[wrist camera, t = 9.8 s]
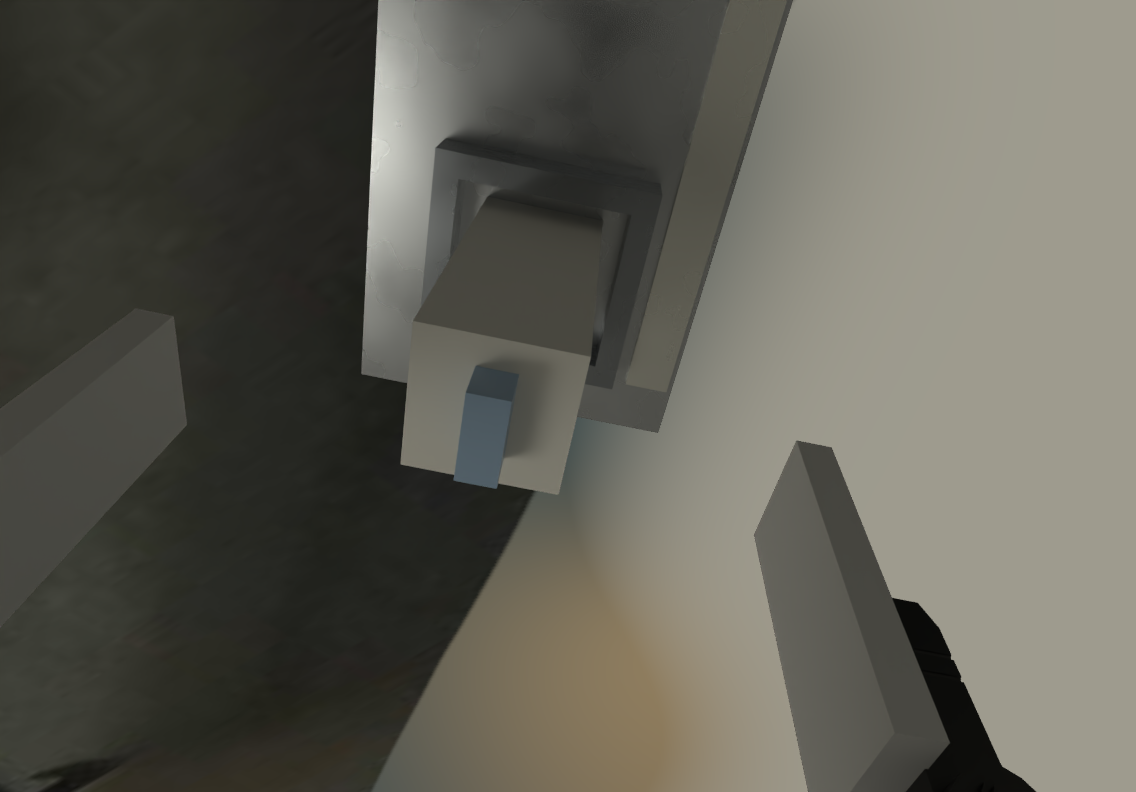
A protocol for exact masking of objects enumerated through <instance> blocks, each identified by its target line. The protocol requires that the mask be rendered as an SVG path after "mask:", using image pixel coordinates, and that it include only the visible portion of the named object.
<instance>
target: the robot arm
mask: <svg viewBox="0 0 1136 792" xmlns="http://www.w3.org/2000/svg"><path fill="white" fill-rule="evenodd" d="M186 425H187V421H186V413H185V405H184V397H183V389H182V381H181V373H180V365H179V356H178V348H177V340H176V332H175V324H174V316H171V315H166V314H161V313H156V312H151V311H146V310H141V309H134V310H133V311H132V312H130V313H129V314H128V315H126V316H125V317H124V318H122V319H121V320H120V321H118V322H117V323H116V324H114V325H113V326H111V327H110V328H109V329H107V330H106V331H105V332H103V333H102V334H101V335H99V336H98V337H97V338H95V339H94V340H93V341H91V342H90V343H88V344H87V345H86V346H84V347H83V348H82V349H80V350H79V351H78V352H76V353H75V354H74V355H72V356H71V357H69V358H68V359H67V360H65V361H64V362H63V363H61V364H60V365H59V366H57V367H56V368H55V369H53V370H52V371H51V372H49V373H48V374H46V375H45V376H44V377H42V378H41V379H40V380H38V381H37V382H36V383H34V384H33V385H32V386H30V387H29V388H28V389H26V390H25V391H23V392H22V393H21V394H19V395H18V396H17V397H15V398H14V399H13V400H11V401H10V402H9V403H7V404H6V405H4V406H3V407H2V408H0V627H1V626H2V625H3V624H4V623H5V622H6V620H7V619H8V618H9V617H10V616H11V615H12V614H13V613H14V612H15V611H16V610H17V609H18V607H19V606H20V605H21V604H22V603H23V602H24V601H25V600H26V599H27V598H28V597H29V596H30V594H31V593H32V592H33V591H34V590H35V589H36V588H37V587H38V586H39V585H40V584H41V582H42V581H43V580H44V579H45V578H46V577H47V576H48V575H49V574H50V573H51V572H52V571H53V569H54V568H55V567H56V566H57V565H58V564H59V563H60V562H61V561H62V560H63V559H64V558H65V556H66V555H67V554H68V553H69V552H70V551H71V550H72V549H73V548H74V547H75V546H76V544H77V543H78V542H79V541H80V540H81V539H82V538H83V537H84V536H85V535H86V534H87V533H88V531H89V530H90V529H91V528H92V527H93V526H94V525H95V524H96V523H97V522H98V521H99V520H100V518H101V517H102V516H103V515H104V514H105V513H106V512H107V511H108V510H109V509H110V508H111V506H112V505H113V504H114V503H115V502H116V501H117V500H118V499H119V498H120V497H121V496H122V495H123V493H124V492H125V491H126V490H127V489H128V488H129V487H130V486H131V485H132V484H133V483H134V482H135V480H136V479H137V478H138V477H139V476H140V475H141V474H142V473H143V472H144V471H145V470H146V468H147V467H148V466H149V465H150V464H151V463H152V462H153V461H154V460H155V459H156V458H157V457H158V455H159V454H160V453H161V452H162V451H163V450H164V449H165V448H166V447H167V446H168V445H169V444H170V442H171V441H172V440H173V439H174V438H175V437H176V436H177V435H178V434H179V433H180V432H181V430H182V429H183V428H184V427H185V426H186ZM754 537H755V541H756V546H757V551H758V556H759V561H760V565H761V570H762V574H763V579H764V584H765V589H766V594H767V598H768V603H769V608H770V613H771V618H772V622H773V627H774V632H775V636H776V641H777V646H778V651H779V656H780V660H781V665H782V670H783V674H784V679H785V684H786V689H787V693H788V698H789V703H790V708H791V712H792V717H793V721H794V727H795V731H796V736H797V741H798V746H799V750H800V755H801V760H802V765H803V769H804V774H805V779H806V784H807V788H808V792H1036V791H1035V790H1034V789H1033V788H1031V787H1030V786H1029V785H1028V784H1027V783H1026V782H1025V781H1024V780H1023V779H1022V778H1020V777H1019V776H1017V775H1015V774H1013V773H1012V772H1010V771H1009V770H1007V769H1005V768H1003V767H1002V765H1001V763H1000V762H999V759H998V757H997V755H996V753H995V750H994V748H993V746H992V744H991V741H990V740H989V737H988V735H987V733H986V731H985V728H984V726H983V724H982V722H981V719H980V717H979V715H978V713H977V711H976V708H975V706H974V704H973V702H972V699H971V697H970V695H969V693H968V691H967V689H966V686H965V684H964V682H961V675H960V673H959V671H958V669H957V666H956V664H955V662H954V660H951V653H950V651H949V649H948V646H947V644H946V642H945V640H944V638H943V636H942V633H941V631H940V629H939V627H938V626H937V625H936V624H935V623H934V622H933V620H932V619H931V618H930V617H929V616H928V614H927V613H926V612H925V611H924V610H923V609H922V608H921V606H920V605H919V604H918V603H915V602H910V601H905V600H900V599H895V598H892V597H891V595H890V592H889V590H888V587H887V585H886V582H885V580H884V577H883V575H882V572H881V570H880V567H879V565H878V562H877V560H876V557H875V555H874V552H873V550H872V547H871V545H870V542H869V540H868V537H867V535H866V532H865V530H864V527H863V525H862V522H861V520H860V517H859V515H858V512H857V510H856V507H855V505H854V502H853V500H852V497H851V495H850V492H849V490H848V487H847V485H846V482H845V480H844V477H843V475H842V472H841V470H840V467H839V465H838V462H837V460H836V457H835V455H834V452H833V450H832V448H831V447H826V446H821V445H816V444H811V443H806V442H801V441H796V443H795V445H794V447H793V449H792V452H791V454H790V456H789V458H788V461H787V463H786V465H785V467H784V469H783V472H782V474H781V476H780V479H779V480H778V483H777V485H776V487H775V489H774V492H773V494H772V496H771V498H770V500H769V503H768V505H767V507H766V509H765V511H764V514H763V516H762V518H761V521H760V523H759V525H758V527H757V529H756V531H755V534H754Z"/></svg>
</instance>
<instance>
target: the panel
mask: <svg viewBox="0 0 1136 792" xmlns="http://www.w3.org/2000/svg"><path fill="white" fill-rule="evenodd" d="M792 1H793V0H379V3H378V25H377V47H376V68H375V90H374V112H373V134H372V155H371V177H370V199H369V220H368V242H367V264H366V286H365V307H364V329H363V351H362V373H361V374H364V375H369V376H375V377H380V378H385V379H390V380H395V381H400V382H405V383H408V372H409V360H410V348H411V337H412V325H413V320H414V318H415V316H416V315H417V313H418V311H419V310H420V308H421V306H422V305H423V303H424V301H425V300H426V298H427V296H428V295H429V293H430V291H431V290H432V288H433V286H434V285H435V283H436V281H437V280H438V278H439V276H440V275H441V273H442V271H443V270H444V268H445V266H446V265H447V263H448V261H449V260H450V258H451V256H452V255H453V253H454V251H455V250H456V248H457V246H458V245H459V243H460V241H461V240H462V238H463V236H464V235H465V233H466V231H467V230H468V228H469V226H470V225H471V223H472V221H473V220H474V218H475V216H476V215H477V213H478V211H479V210H480V208H481V206H482V205H483V203H484V201H485V200H486V198H487V197H492V198H497V199H502V200H506V201H511V202H516V203H521V204H526V205H530V206H535V207H540V208H545V209H549V210H554V211H559V212H564V213H568V214H573V215H578V216H583V217H587V218H592V219H597V220H602V221H603V224H602V236H601V247H600V259H599V270H598V282H597V293H596V305H595V317H594V328H593V340H592V351H591V359H590V363H589V368H588V372H587V376H586V380H585V384H584V389H583V393H582V397H581V401H580V406H579V410H578V414H577V417H581V418H586V419H591V420H596V421H601V422H606V423H612V424H616V425H622V426H626V427H632V428H636V429H642V430H647V431H652V432H657V433H658V431H659V428H660V425H661V422H662V419H663V415H664V412H665V409H666V406H667V402H668V399H669V396H670V393H671V389H672V386H673V383H674V380H675V377H676V374H677V370H678V367H679V364H680V361H681V357H682V354H683V351H684V348H685V345H686V342H687V338H688V335H689V332H690V329H691V325H692V322H693V319H694V316H695V313H696V309H697V306H698V303H699V299H700V297H701V293H702V290H703V287H704V284H705V281H706V277H707V274H708V271H709V268H710V264H711V261H712V258H713V255H714V251H715V248H716V245H717V242H718V238H719V236H720V232H721V229H722V226H723V223H724V219H725V216H726V213H727V209H728V207H729V203H730V200H731V197H732V194H733V191H734V187H735V184H736V181H737V178H738V174H739V171H740V168H741V165H742V161H743V158H744V155H745V152H746V149H747V146H748V143H749V139H750V136H751V133H752V130H753V126H754V123H755V120H756V117H757V114H758V110H759V107H760V104H761V101H762V98H763V94H764V91H765V87H766V85H767V81H768V78H769V75H770V72H771V68H772V65H773V62H774V59H775V55H776V53H777V49H778V46H779V43H780V40H781V37H782V33H783V30H784V27H785V24H786V21H787V17H788V14H789V11H790V8H791V4H792Z"/></svg>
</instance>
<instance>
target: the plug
mask: <svg viewBox="0 0 1136 792" xmlns="http://www.w3.org/2000/svg"><path fill="white" fill-rule="evenodd" d="M602 224H603V221H602V220H597V219H592V218H587V217H583V216H578V215H573V214H568V213H564V212H559V211H554V210H549V209H545V208H540V207H535V206H530V205H526V204H521V203H516V202H511V201H506V200H502V199H497V198H492V197H487V198H486V200H485V201H484V203H483V205H482V206H481V208H480V210H479V211H478V213H477V215H476V216H475V218H474V220H473V221H472V223H471V225H470V226H469V228H468V230H467V231H466V233H465V235H464V236H463V238H462V240H461V241H460V243H459V245H458V246H457V248H456V250H455V251H454V253H453V255H452V256H451V258H450V260H449V261H448V263H447V265H446V266H445V268H444V270H443V271H442V273H441V275H440V276H439V278H438V280H437V281H436V283H435V285H434V286H433V288H432V290H431V291H430V293H429V295H428V296H427V298H426V300H425V301H424V303H423V305H422V306H421V308H420V310H419V311H418V313H417V315H416V316H415V318H414V320H413V325H412V337H411V348H410V360H409V372H408V383H407V395H406V407H405V418H404V430H403V442H402V453H401V464H402V465H407V466H412V467H417V468H422V469H427V470H433V471H438V472H443V473H448V474H453V475H454V481H459V482H464V483H469V484H475V485H480V486H485V487H490V488H495V489H497V485H498V483H500V484H505V485H510V486H515V487H520V488H525V489H531V490H536V491H541V492H546V493H551V494H556V495H558V494H559V490H560V486H561V481H562V477H563V473H564V469H565V464H566V460H567V456H568V452H569V448H570V444H571V440H572V435H573V431H574V427H575V423H576V418H577V414H578V410H579V406H580V401H581V397H582V393H583V389H584V384H585V380H586V376H587V372H588V368H589V363H590V359H591V351H592V340H593V328H594V317H595V305H596V293H597V282H598V270H599V259H600V247H601V236H602Z"/></svg>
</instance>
